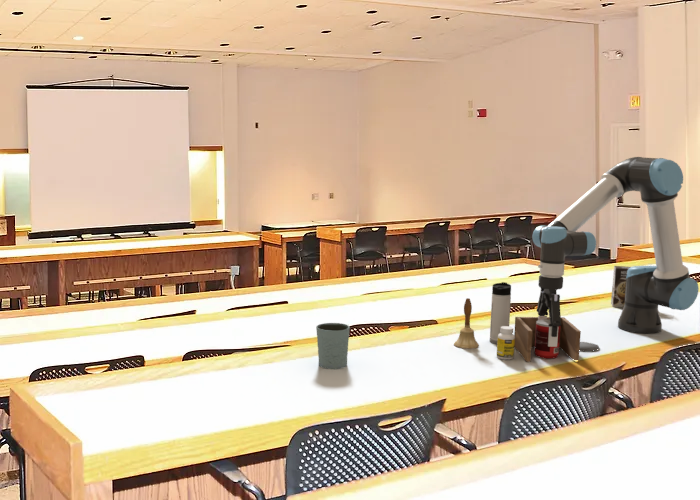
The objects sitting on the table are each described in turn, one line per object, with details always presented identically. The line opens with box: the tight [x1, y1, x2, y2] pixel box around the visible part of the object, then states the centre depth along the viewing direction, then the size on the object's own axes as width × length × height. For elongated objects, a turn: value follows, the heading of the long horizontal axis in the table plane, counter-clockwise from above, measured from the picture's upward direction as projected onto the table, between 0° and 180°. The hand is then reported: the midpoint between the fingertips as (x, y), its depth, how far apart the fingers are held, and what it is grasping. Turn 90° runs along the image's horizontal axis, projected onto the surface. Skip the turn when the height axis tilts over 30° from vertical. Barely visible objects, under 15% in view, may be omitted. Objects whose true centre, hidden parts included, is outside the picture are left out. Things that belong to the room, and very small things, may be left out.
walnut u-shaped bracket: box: [513, 316, 582, 363], centre depth 280 cm, size 16×18×10 cm
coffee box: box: [610, 265, 631, 309], centre depth 352 cm, size 9×6×16 cm
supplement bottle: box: [496, 325, 515, 361], centre depth 274 cm, size 5×5×10 cm
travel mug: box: [489, 281, 512, 345], centre depth 292 cm, size 6×7×20 cm
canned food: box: [534, 319, 561, 360], centre depth 278 cm, size 8×8×11 cm
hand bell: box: [453, 298, 480, 350], centre depth 287 cm, size 8×8×16 cm
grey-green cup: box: [316, 322, 351, 370], centre depth 262 cm, size 10×10×12 cm
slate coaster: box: [579, 341, 600, 352], centre depth 289 cm, size 10×10×1 cm
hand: (546, 340), depth 278 cm, fingers open, 13 cm apart
